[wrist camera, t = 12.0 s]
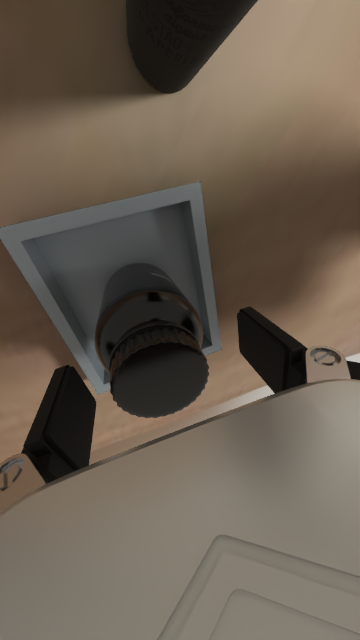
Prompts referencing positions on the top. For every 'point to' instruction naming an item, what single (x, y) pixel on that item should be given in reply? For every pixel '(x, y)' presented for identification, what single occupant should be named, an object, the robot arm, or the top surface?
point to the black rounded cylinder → (179, 36)
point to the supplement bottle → (150, 342)
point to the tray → (115, 262)
